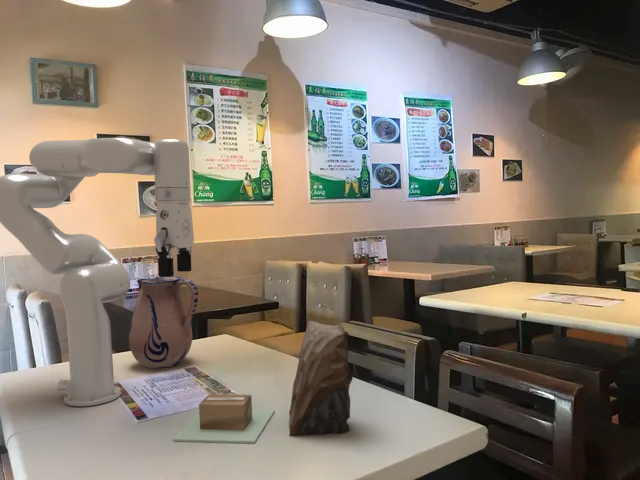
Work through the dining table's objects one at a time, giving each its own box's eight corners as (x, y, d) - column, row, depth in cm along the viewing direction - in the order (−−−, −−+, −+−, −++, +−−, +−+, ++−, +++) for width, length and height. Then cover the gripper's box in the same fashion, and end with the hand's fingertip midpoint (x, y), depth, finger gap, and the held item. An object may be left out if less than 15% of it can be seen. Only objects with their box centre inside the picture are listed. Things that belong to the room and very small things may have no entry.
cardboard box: (244, 430, 108) (242, 403, 108) (200, 429, 110) (198, 403, 110) (252, 418, 114) (251, 393, 114) (210, 417, 116) (209, 393, 116)
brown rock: (302, 412, 118) (299, 319, 117) (361, 414, 115) (358, 319, 114) (286, 436, 106) (281, 332, 105) (351, 439, 103) (347, 333, 102)
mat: (172, 441, 105) (172, 439, 105) (203, 410, 121) (202, 409, 121) (254, 443, 103) (254, 441, 103) (274, 412, 119) (274, 410, 119)
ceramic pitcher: (147, 356, 170) (142, 275, 169) (213, 356, 168) (209, 273, 166) (118, 373, 153) (113, 283, 152) (192, 373, 150) (187, 281, 149)
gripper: (172, 195, 113) (175, 279, 114) (203, 196, 130) (205, 269, 131) (138, 196, 114) (141, 279, 115) (173, 197, 131) (175, 269, 132)
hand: (175, 273), depth 123 cm, fingers open, 9 cm apart
